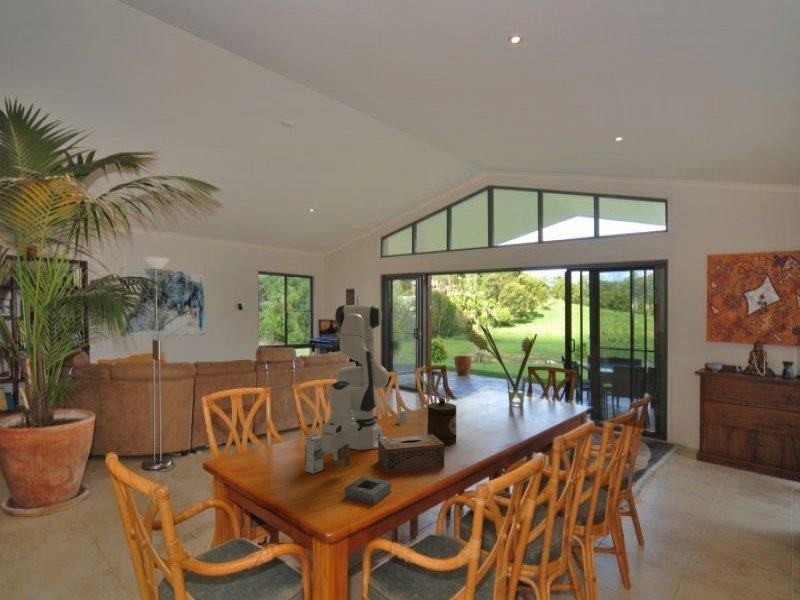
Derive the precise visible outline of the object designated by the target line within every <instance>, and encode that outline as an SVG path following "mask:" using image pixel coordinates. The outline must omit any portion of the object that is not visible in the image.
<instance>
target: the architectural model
mask: <svg viewBox="0 0 800 600" xmlns="http://www.w3.org/2000/svg"><path fill="white" fill-rule="evenodd" d="M406 414H407V411H406V410H404V411H402V410H400V412H399V415H397V417H395V419H396V420H397V425H398V426H399V425H404V424H405V423H406V421H407V419H406V418H407V416H406Z"/></svg>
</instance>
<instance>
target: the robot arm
mask: <svg viewBox="0 0 800 600" xmlns="http://www.w3.org/2000/svg"><path fill="white" fill-rule="evenodd" d="M334 317H335V323H336V325H337V326H338V327H340V333H339V344H338V345H339V349H340V352H341V354H343V355H344V356H345V357H347V358H349V359H351V360H353V361H355V362H358V363H359V364H361V365H359V366H357V365H356V366H354V365H353V366H352V365H350V366H345V367H340V369H339V370H338V371H337V373H336V382H334V383H332V385H331V387H330V395H329V408H330V413H329V419H328V420H327V421H326V423H324V424H323V425H322V427H321V433H322V434H321V435H322V451H323V452H324V454H332V460H333V459H334V460H336V461H337V460H339V455H338V454H337V452H338V449H340V448H342V447H343V446H344V445H347V444H349V449H353V450H360V451H362V450H363V451H364V450H365V451H366V450H373V449H375V450H376V449H377V450H378V439H385V438H388V437H387V436H384V431H383V428H382V427H381V426H380V425H378V424H377V421H376V420H378V419H379V414H378V415H377V414H376V415H375V412H374V411H375V410H374V409H375V408H376V407H377V405H378V395H377V389H382V388H384V387H386V386H387V385H388V383H389V380H390V379H389V378H390V374H389V371H388V370H387V369H386V368H385V367H384V366H383V365H382V364H380V362H379V361H378V359H377V357H376V354H375V346H374V345H375V344H374V343H375V342H374V339H375V334H374V329H376V328H378V327H379V326H380V325H381V323H382V319H383V314H382V310H381V308H380V307H379V306H378V305H374V304H372V305H368V304H350V305H346V304H343V305H339V306H338V307H337V309H335V313H334Z"/></svg>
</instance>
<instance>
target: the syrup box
mask: <svg viewBox="0 0 800 600" xmlns="http://www.w3.org/2000/svg"><path fill="white" fill-rule="evenodd" d="M322 435H323V434H320V433H313V434H311V435H307V436H305V438H304V439H305V441H304V442H305V446H304V471H305V472H308V473H310V474H316V473H319V472H322V471H324V470H325V453H324V452H323V451H322Z"/></svg>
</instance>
